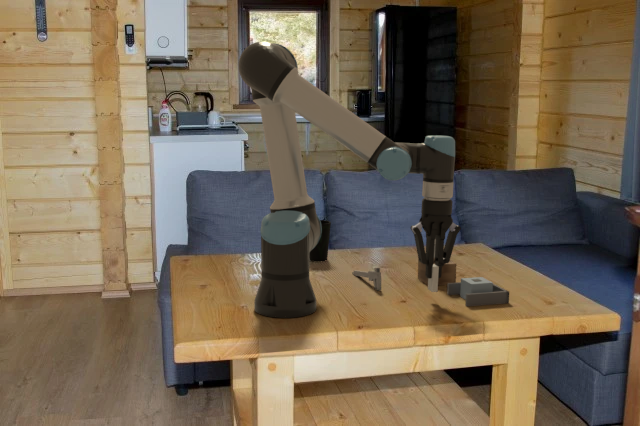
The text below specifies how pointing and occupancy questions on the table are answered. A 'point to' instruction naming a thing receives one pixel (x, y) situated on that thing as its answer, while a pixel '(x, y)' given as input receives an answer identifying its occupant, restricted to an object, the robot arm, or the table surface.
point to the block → (475, 286)
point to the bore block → (446, 275)
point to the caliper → (371, 277)
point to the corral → (481, 295)
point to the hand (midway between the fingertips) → (432, 290)
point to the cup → (321, 244)
